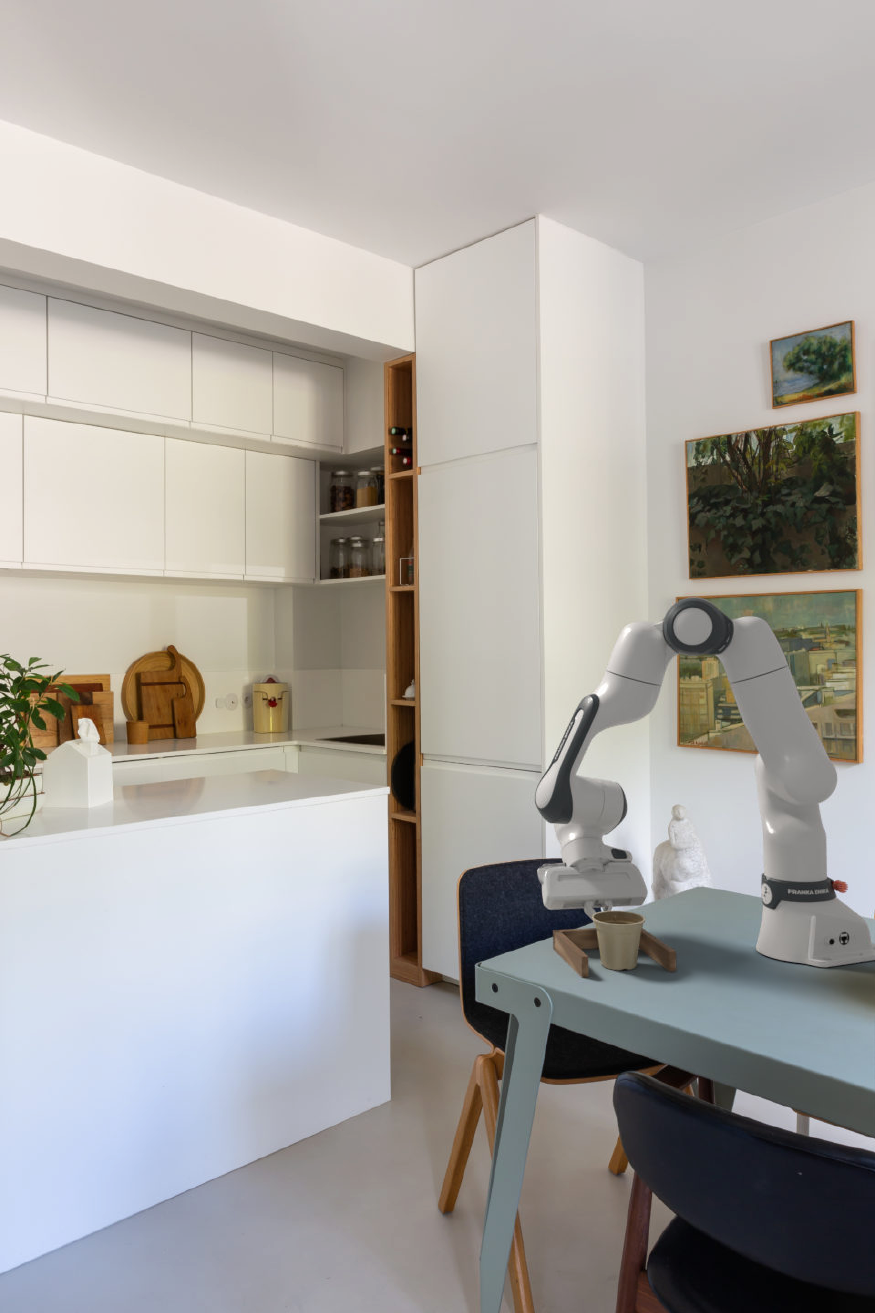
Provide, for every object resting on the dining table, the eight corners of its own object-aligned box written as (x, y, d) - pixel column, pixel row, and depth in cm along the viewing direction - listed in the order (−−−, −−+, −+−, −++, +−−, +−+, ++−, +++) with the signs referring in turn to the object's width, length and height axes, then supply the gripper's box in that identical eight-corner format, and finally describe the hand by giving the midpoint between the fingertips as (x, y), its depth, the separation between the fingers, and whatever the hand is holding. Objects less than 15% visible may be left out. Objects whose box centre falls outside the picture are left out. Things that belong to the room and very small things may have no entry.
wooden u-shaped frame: (639, 943, 179) (638, 925, 179) (676, 971, 162) (675, 951, 162) (553, 949, 176) (553, 930, 176) (581, 977, 159) (581, 957, 159)
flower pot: (646, 975, 160) (645, 925, 160) (591, 972, 162) (590, 923, 162) (645, 959, 169) (644, 911, 169) (593, 956, 171) (592, 909, 171)
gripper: (538, 855, 179) (553, 919, 170) (638, 851, 183) (658, 914, 173) (532, 873, 184) (546, 937, 174) (630, 869, 187) (649, 931, 177)
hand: (603, 925), depth 173 cm, fingers closed
